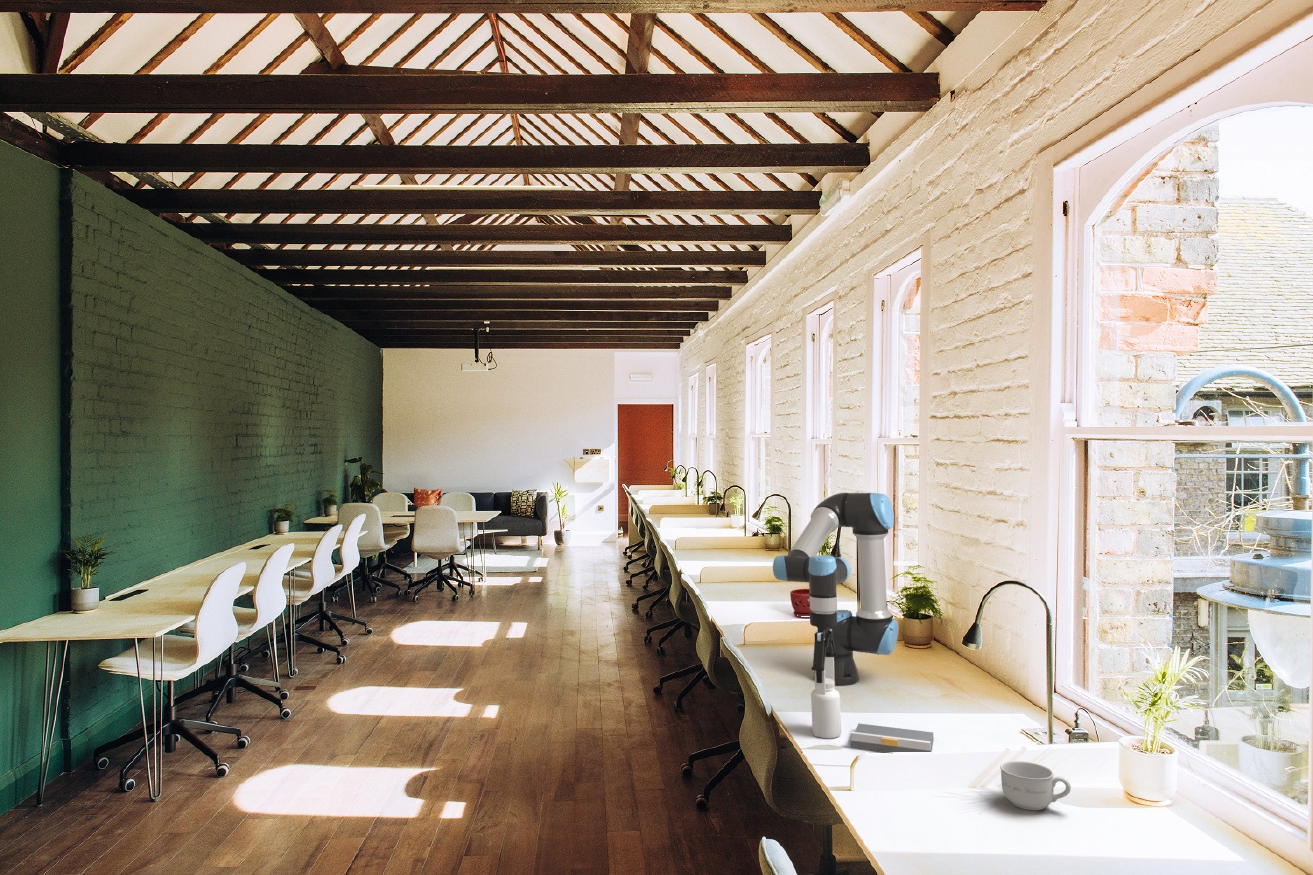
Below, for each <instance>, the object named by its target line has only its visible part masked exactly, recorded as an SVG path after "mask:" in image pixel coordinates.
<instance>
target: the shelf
mask: <svg viewBox="0 0 1313 875" xmlns="http://www.w3.org/2000/svg"><path fill="white" fill-rule="evenodd" d="M850 739H851V740H850V742H851V743H850V745H851V746H850V747H851V749H857V750H865V751H871V752H872V751H873V752H878V753H879V752H880V753H886V752H932V751H933V747H934V746H933V745H934V732H933V731H925V730H916V729H909V728H908V729H907V728H901V727H890V726H881V725H874V724H868V723H860V722H859V723H858V724H857V725H856V728H855V731H851V732H850ZM932 753H933V752H932Z"/></svg>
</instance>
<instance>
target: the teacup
mask: <svg viewBox="0 0 1313 875" xmlns="http://www.w3.org/2000/svg"><path fill="white" fill-rule="evenodd" d="M999 766H1000V767H999V768H1000V776H1001V778H1000V779H1001V789H1002V792H1003V795H1004V796H1005V798H1006V799H1007V800H1009V801H1010V803H1011V804H1012V805H1014V806H1015V807H1017V808H1020V809H1024V810H1029V811H1042V810H1044V809H1045V808H1046V807H1048V806H1049V805H1051V803H1056V802H1057V800H1060V799H1063V798H1065V797H1067V796H1068V795H1069V794H1070V793H1071V791H1072V790H1071V788H1072V787H1071V783H1070V781H1069V780H1068V779H1067V778H1066V777H1064V776H1061V775H1058V776H1054V772H1053V770H1052V769H1050V768H1048V767H1047V766H1045V765H1042V764H1040V763H1036V762H1031V761H1023V760H1011V761H1004V762H1003V763H1001V764H1000V765H999ZM1058 782H1062V783H1063V785H1065V789H1064V790H1063V791H1062V792H1059V793H1054V788H1055V787H1056V785H1057V783H1058Z"/></svg>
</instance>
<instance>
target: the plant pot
mask: <svg viewBox="0 0 1313 875" xmlns="http://www.w3.org/2000/svg"><path fill="white" fill-rule="evenodd" d="M809 593H810V592H809V588H798V589H792V590H791V591H790V593H789V594H790V595H789V596H790V602H791V606H792V609H793V610H794V611H793V615H794V616H795V617H797V618H800V619H810V617H801V616H810V612H811V611H812V610H810V602H808V599H809V598H810V595H809ZM796 615H798V616H796Z"/></svg>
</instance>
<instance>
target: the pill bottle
mask: <svg viewBox="0 0 1313 875" xmlns="http://www.w3.org/2000/svg"><path fill="white" fill-rule="evenodd" d="M835 686H836V685H835V681H834V680H833V679H829V678H825V695H820V694H815V688H814V689H813V690H811V693H810V694H811V695H810V700H811V704H810V705H811V726H812V733H813V735H814V736H816V737H818V738H822V739H835V738H838V737H840V736H841V735H842V720H841V719H842V718H841V717H842V716H841V715H842V714H841V696H840V695H841V694H840V692H839V691H838V690H837V689H835Z"/></svg>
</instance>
